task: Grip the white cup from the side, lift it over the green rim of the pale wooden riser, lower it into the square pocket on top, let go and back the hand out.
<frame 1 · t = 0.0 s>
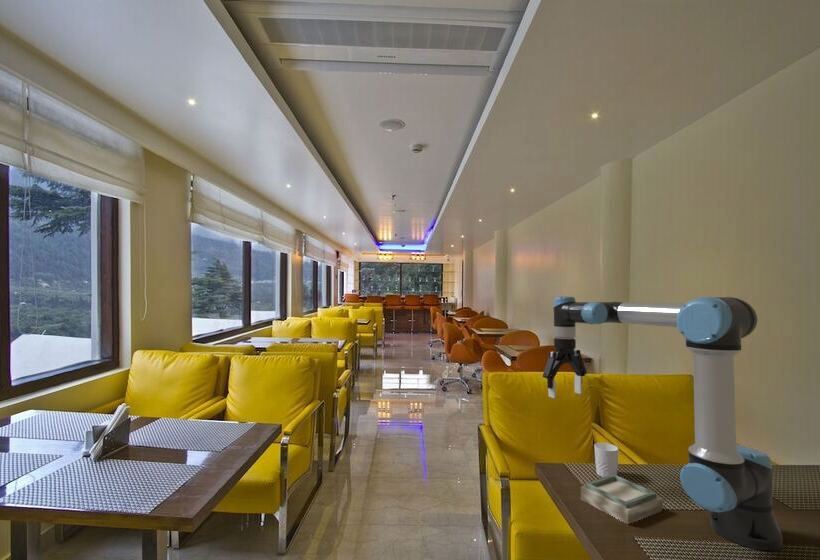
hand: (565, 395, 148), 28 cm above the table, tool pointing down, fingers open, 13 cm apart
white cup: (606, 475, 145), on the table
riser: (620, 505, 124), on the table
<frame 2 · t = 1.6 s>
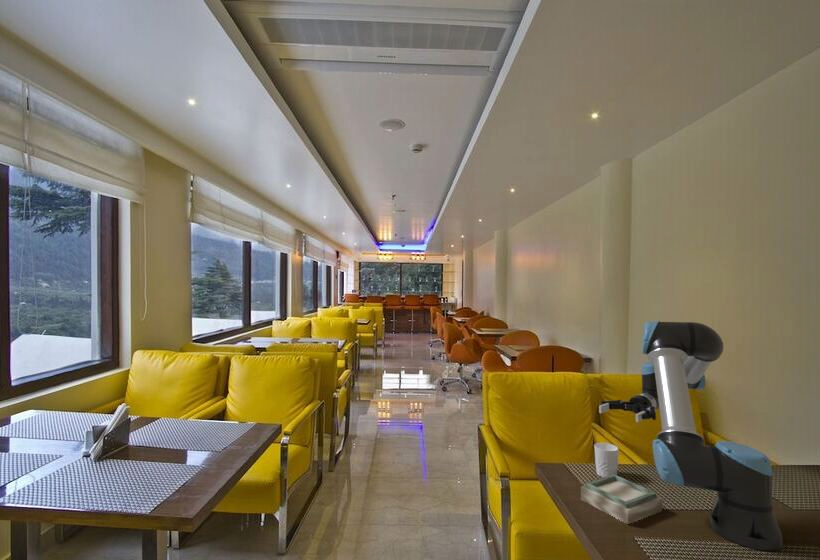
hand: (617, 413, 151), 20 cm above the table, tool horizontal, fingers open, 13 cm apart
nothing on the table moved.
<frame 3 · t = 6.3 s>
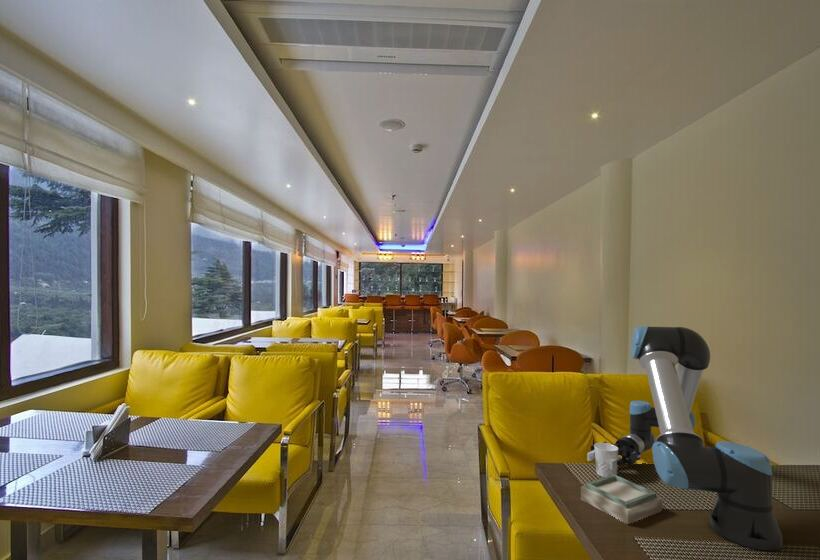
hand: (599, 461, 142), 6 cm above the table, tool horizontal, fingers closed on white cup, 8 cm apart
white cup: (606, 475, 145), on the table, touching gripper
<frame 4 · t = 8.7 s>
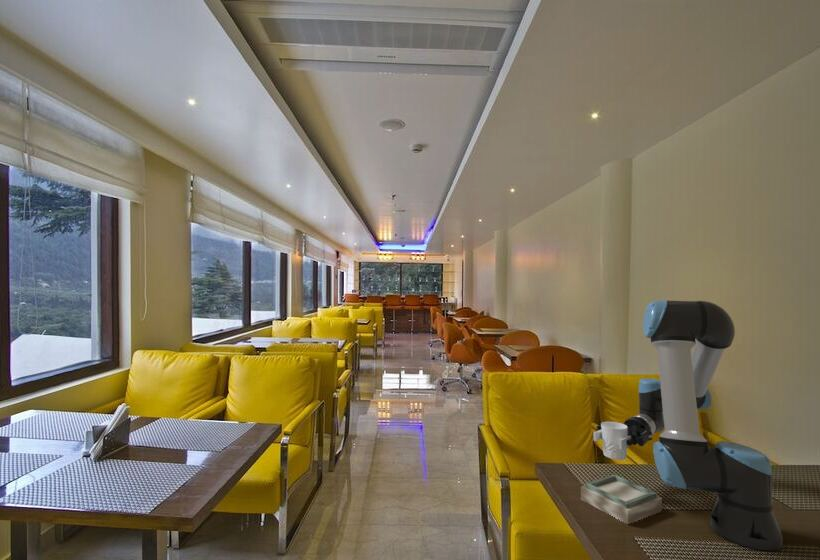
hand: (607, 440, 128), 18 cm above the table, tool horizontal, fingers closed on white cup, 8 cm apart
white cup: (614, 456, 131), point 12 cm above the table, touching gripper
when the fingers open (12 cm above the table, at t = 11.1 s): white cup drops 2 cm, resting on riser.
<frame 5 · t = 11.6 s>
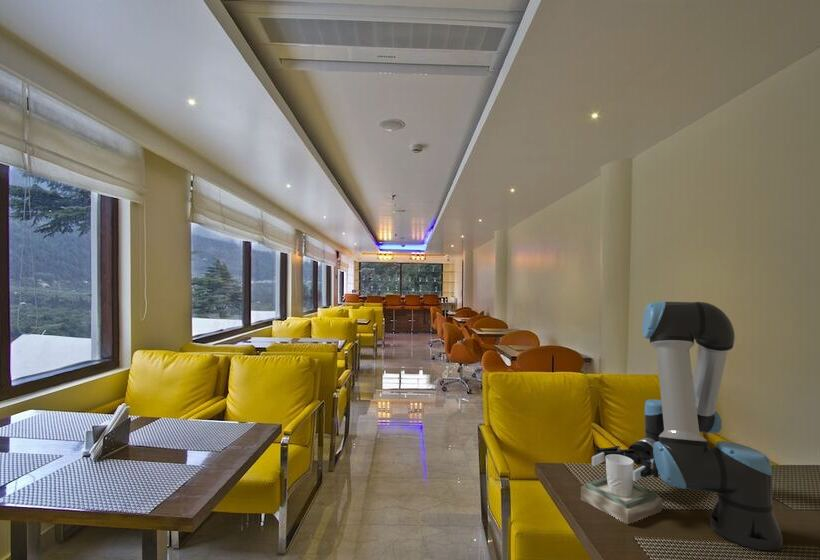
hand: (612, 468, 122), 12 cm above the table, tool horizontal, fingers open, 12 cm apart
white cup: (619, 492, 124), point 4 cm above the table, touching riser
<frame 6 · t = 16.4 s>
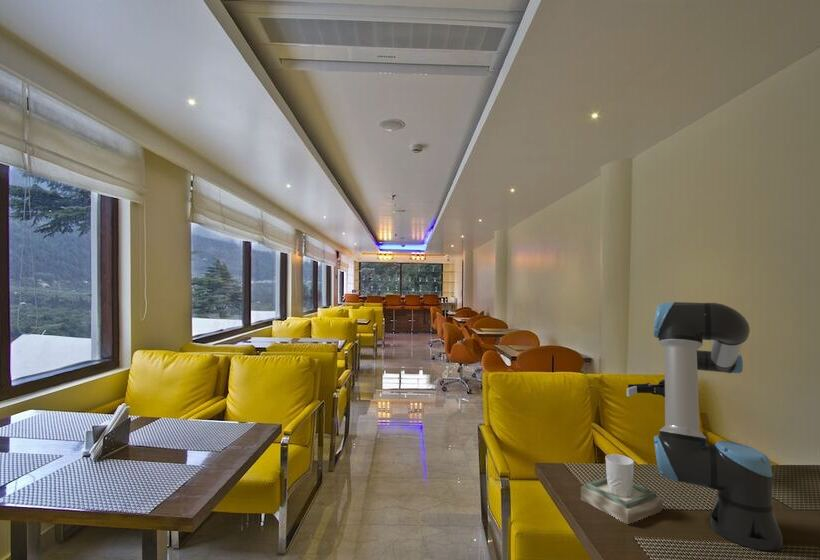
hand: (647, 396, 139), 30 cm above the table, tool horizontal, fingers open, 13 cm apart
nothing on the table moved.
at the end: white cup 0.1 cm off-centre on the riser, point 3.8 cm above the riser's base; white cup tilted 0°; the gripper is holding nothing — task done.
